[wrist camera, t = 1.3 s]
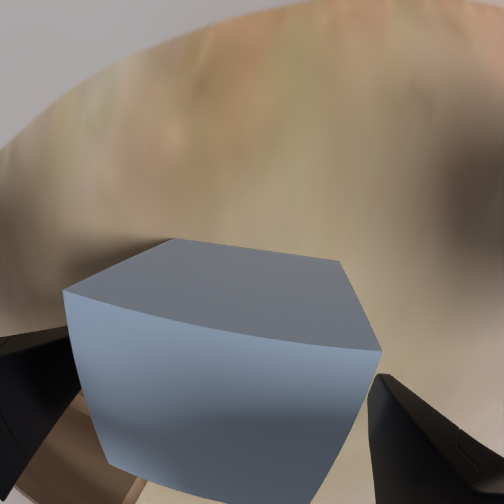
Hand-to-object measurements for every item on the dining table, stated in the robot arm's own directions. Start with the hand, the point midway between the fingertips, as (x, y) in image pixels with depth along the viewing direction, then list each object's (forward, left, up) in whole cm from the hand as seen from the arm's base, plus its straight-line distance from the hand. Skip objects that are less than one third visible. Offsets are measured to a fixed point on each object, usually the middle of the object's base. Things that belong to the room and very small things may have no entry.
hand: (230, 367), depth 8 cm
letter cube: (0, 0, -3) cm, 3 cm away
